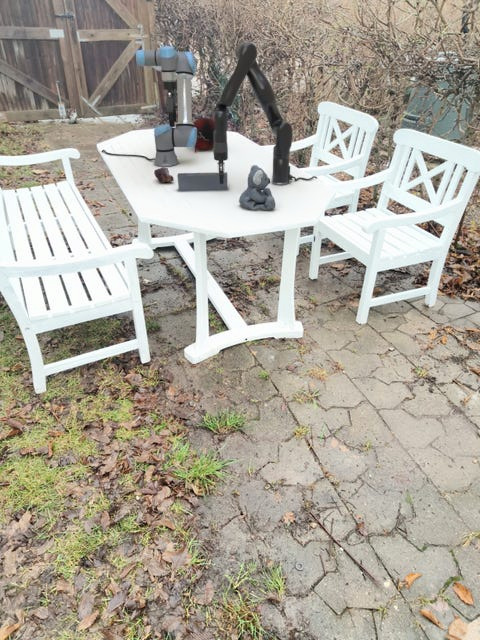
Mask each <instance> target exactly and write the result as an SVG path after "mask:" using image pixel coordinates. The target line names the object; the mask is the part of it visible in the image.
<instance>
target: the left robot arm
mask: <svg viewBox="0 0 480 640" xmlns="http://www.w3.org/2000/svg"><path fill="white" fill-rule="evenodd" d="M135 60H136V64H137V65H138V66H139V67H149V68H153V69H155V70H156V71H157V72H161V80H162V89H163V90H164V91H167V93H166V99H167V111H166V114H167V115H168V122H169V123H168V124H162V125H159V126H156V127H155V128H154V129H153V136H154V145H155V155H154V157H153V158H148V157H147V156H145V155H140V154H125V153H124V154H123V153H111V152H107V151H106V150H105V149H102V150H101V152H102V153H103V152H104V153H105V154H106V155H110V156H117V157H118V156H122V157H138V158H139V157H140V158H145V159H146V160H148V161H154V165H155V166H157V167H160V168H162V167H164V168H169V167H174V166H177V165H178V164H179V159H178V156H177V153H176V151H175V148H195V147H194V146H195V144H196V139H197V128H195V127H194V124H193V123H194V122H193V110H192V109H193V108H192V107H193V105H192V80H193V79H194V75H195V74H197V66H196V60H195V56H194V53H192V52H191V51H177V50H175V48H174V46H170V45H167V46H166V45H165V46H160V47H159V49H138V50H136V52H135ZM175 90H177V105H176V97H175V96H176V93H175Z"/></svg>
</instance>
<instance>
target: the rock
mask: <svg viewBox="0 0 480 640" xmlns="http://www.w3.org/2000/svg"><path fill="white" fill-rule="evenodd" d="M153 173H154V177H155V178H156V179H157V181H158V182H160V183H162V184H163V183H172V182H174V181H175V179H174V176H173V175H171V174H170V172H169V167H160V168H156V169H155V170H154V172H153Z"/></svg>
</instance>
